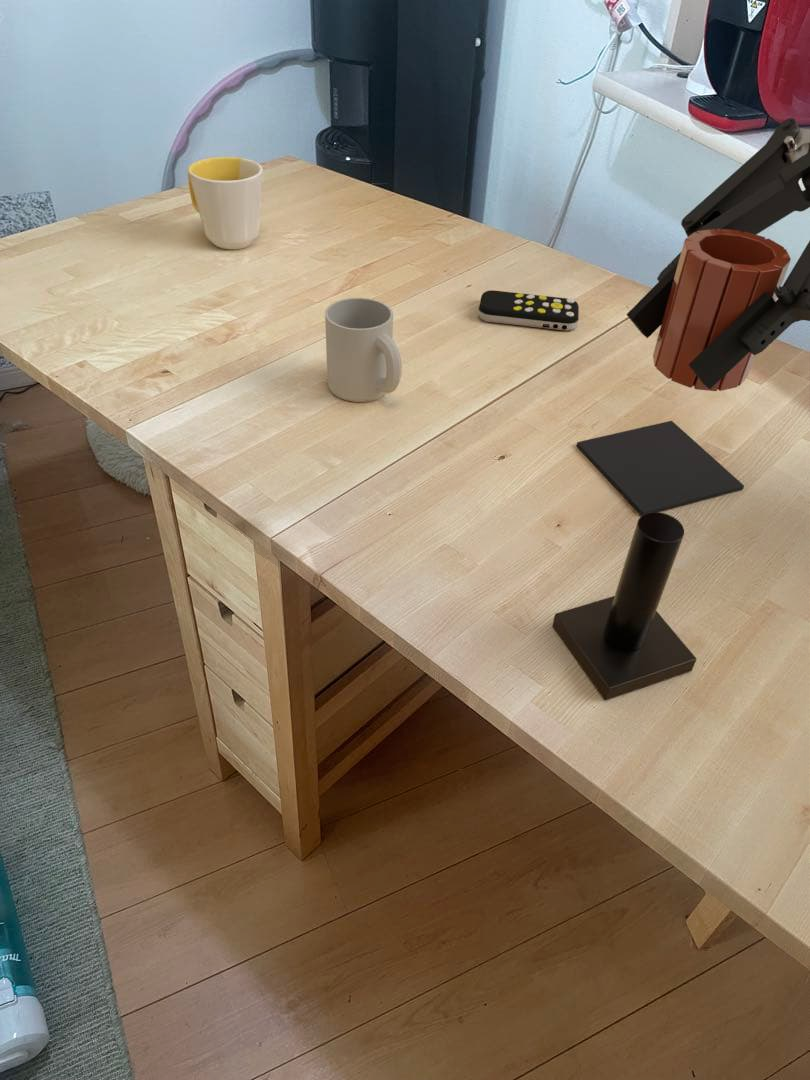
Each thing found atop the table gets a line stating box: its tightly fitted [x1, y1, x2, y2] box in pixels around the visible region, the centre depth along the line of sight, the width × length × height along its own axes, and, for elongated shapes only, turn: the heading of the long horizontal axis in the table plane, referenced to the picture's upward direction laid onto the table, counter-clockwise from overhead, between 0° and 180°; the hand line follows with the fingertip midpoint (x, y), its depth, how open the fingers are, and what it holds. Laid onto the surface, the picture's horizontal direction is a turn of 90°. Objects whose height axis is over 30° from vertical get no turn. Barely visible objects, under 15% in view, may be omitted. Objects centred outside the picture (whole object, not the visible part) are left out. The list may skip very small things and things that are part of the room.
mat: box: [576, 420, 745, 517], centre depth 83 cm, size 12×12×1 cm
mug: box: [187, 156, 264, 250], centre depth 117 cm, size 14×10×10 cm
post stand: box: [552, 512, 698, 701], centre depth 60 cm, size 8×8×13 cm
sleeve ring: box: [652, 229, 792, 392], centre depth 58 cm, size 7×7×9 cm
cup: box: [324, 297, 403, 403], centre depth 88 cm, size 7×10×9 cm
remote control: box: [477, 289, 580, 332], centre depth 105 cm, size 6×13×2 cm, turn 81°
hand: (667, 350), depth 58 cm, fingers closed on sleeve ring, 7 cm apart
